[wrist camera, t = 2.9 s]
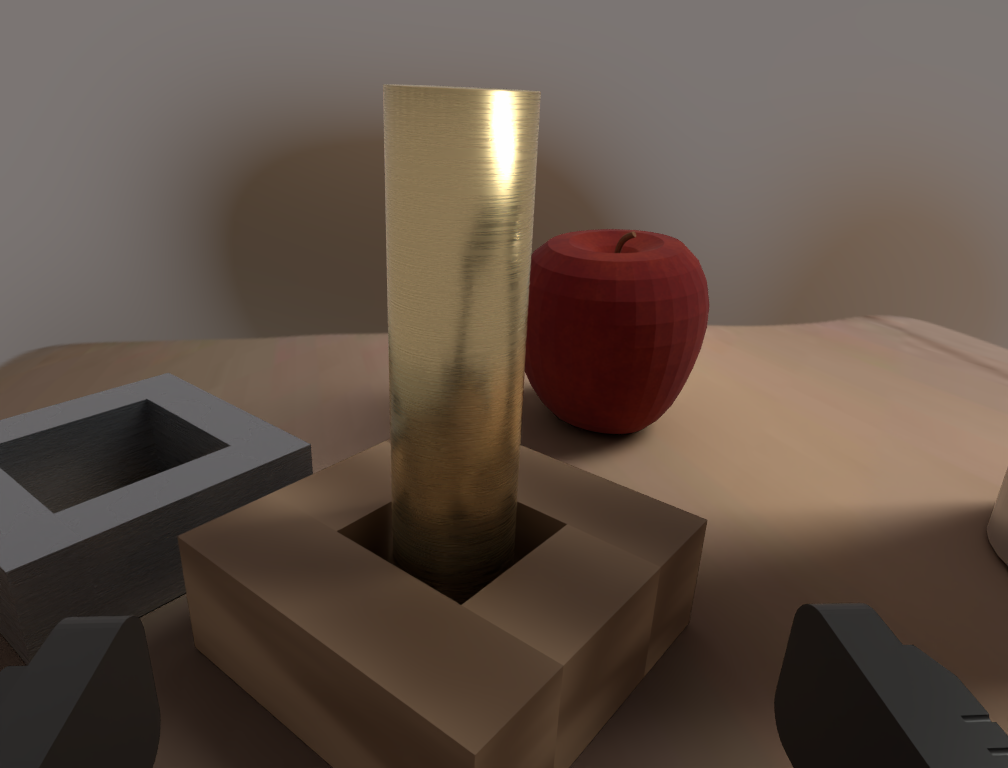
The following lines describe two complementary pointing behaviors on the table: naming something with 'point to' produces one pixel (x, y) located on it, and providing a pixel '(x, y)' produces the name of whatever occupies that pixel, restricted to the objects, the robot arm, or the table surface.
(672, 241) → the apple
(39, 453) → the grey steel socket block
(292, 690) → the walnut block
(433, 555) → the brass axle
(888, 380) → the table surface
